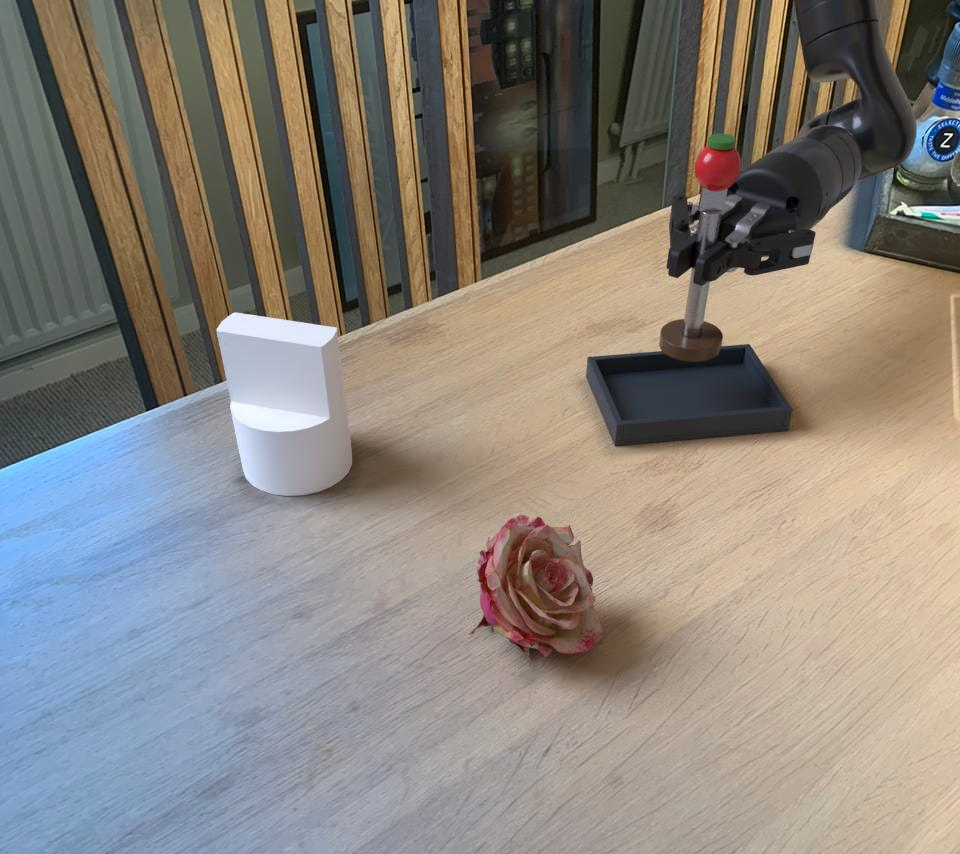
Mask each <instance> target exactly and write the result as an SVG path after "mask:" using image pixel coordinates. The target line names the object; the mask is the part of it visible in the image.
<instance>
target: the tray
mask: <svg viewBox="0 0 960 854" xmlns="http://www.w3.org/2000/svg"><path fill="white" fill-rule="evenodd" d="M585 378H586V381H587V383H588V386H589V387H590V390H591V392H592V395H593V397H594V400H595V402H596V404H597V408H598V409H599V412H600V414H601V416H602V419H603V421H604V424H605V426H606V429H607V431H608V434H609V436H610V438H611V441H612V442H613V446H614V447H618V446H620V447H621V446H631V445H642V444H653V443H664V442H675V441H688V440H696V439H697V440H698V439H707V438H708V439H710V438H719V437H730V436H731V437H733V436H742V435H754V434H764V433H776V432H787V431H789V428H790V423H791V420H792V415H793V411H794V410H793V408H792V405H790V403H789V401H788V399H786V397H785V395H784V393H783V392H782V391H781V389H780V388H779V386H778V384H777V383H776V382H775V380H774V379H773V377H772V376H771V374H770V372H769V371H768V370H767V368H766V367H765V365H764V364H763V362H762V360H761V359H760V358H759V356H758V354H757V352H755V350H754V348H753V346H751V344H750V343H744V344H732V345H731V344H730V345H722V346H721V350H720V353H719V354H718V355H717V356H716V357H714V358H712V359H710V360H707V361H701V362H686V361H681V360H677V359H674V358H671V357H669V356H668V355H666V354H665V353H664V352H663V351H662V350H658V351H656V350H655V351H646V352H644V351H643V352H632V353H631V352H630V353H621V354H619V353H618V354H608V355H607V354H606V355H597V356H596V355H595V356H587V360H586V372H585Z"/></svg>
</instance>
